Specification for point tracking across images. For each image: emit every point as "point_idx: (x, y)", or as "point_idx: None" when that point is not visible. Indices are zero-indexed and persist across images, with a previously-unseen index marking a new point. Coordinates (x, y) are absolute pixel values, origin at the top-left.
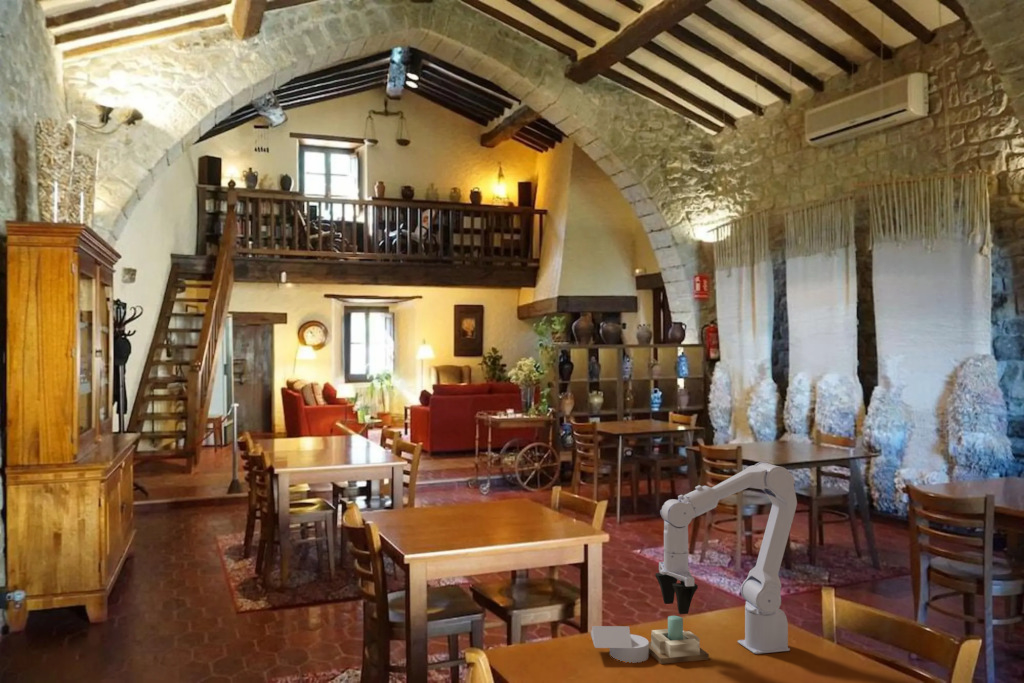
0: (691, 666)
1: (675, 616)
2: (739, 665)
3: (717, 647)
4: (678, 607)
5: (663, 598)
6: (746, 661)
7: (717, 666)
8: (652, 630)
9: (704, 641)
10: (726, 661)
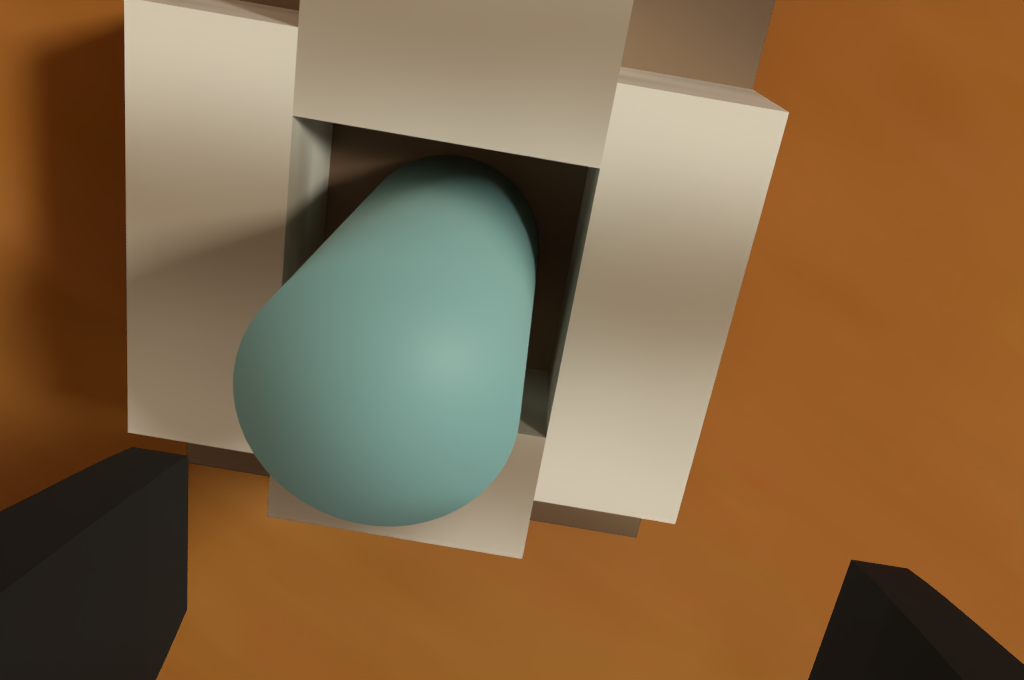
0: (80, 168)
1: (459, 459)
2: None
3: (444, 670)
4: (56, 498)
5: (950, 622)
6: None
7: (31, 403)
8: (769, 114)
9: (617, 663)
10: None
